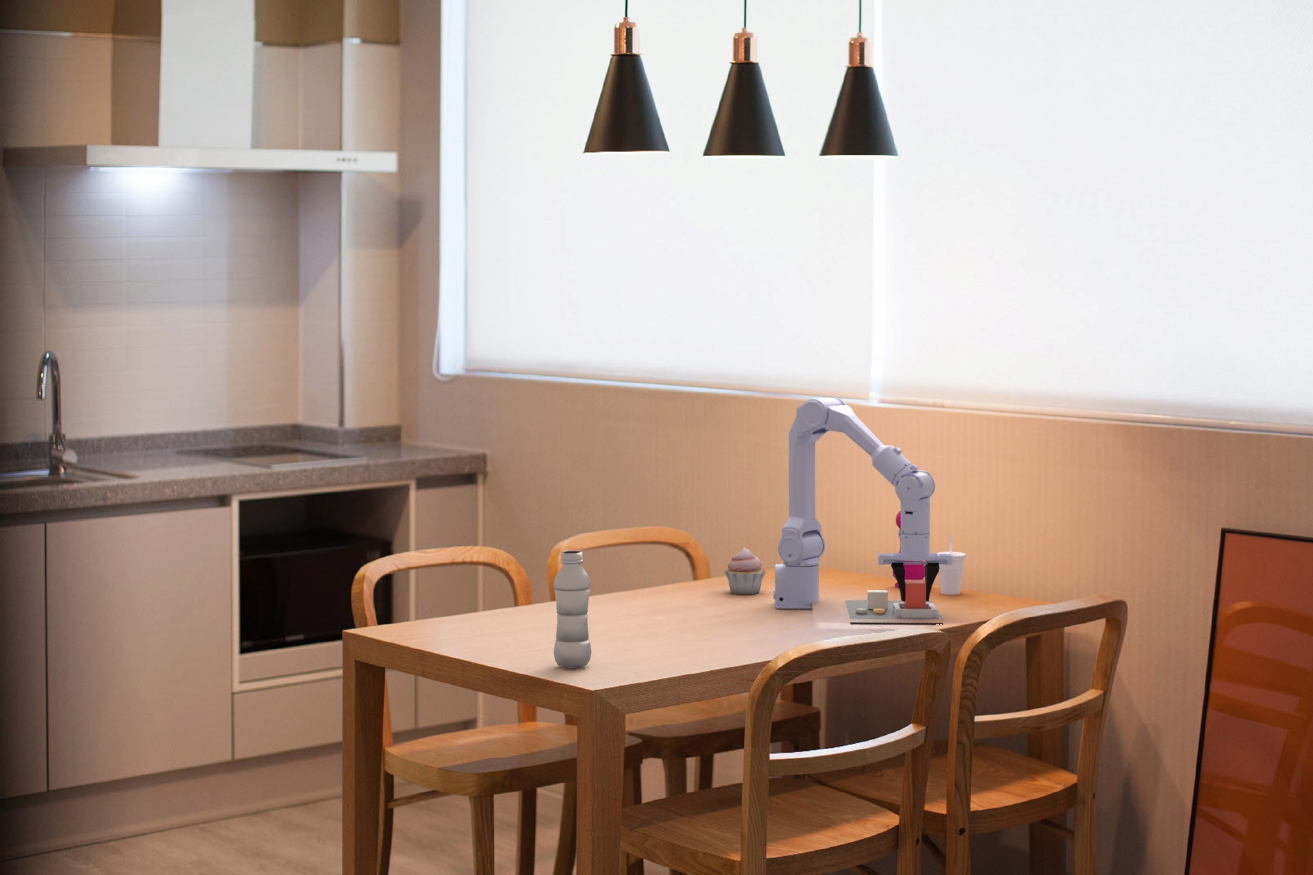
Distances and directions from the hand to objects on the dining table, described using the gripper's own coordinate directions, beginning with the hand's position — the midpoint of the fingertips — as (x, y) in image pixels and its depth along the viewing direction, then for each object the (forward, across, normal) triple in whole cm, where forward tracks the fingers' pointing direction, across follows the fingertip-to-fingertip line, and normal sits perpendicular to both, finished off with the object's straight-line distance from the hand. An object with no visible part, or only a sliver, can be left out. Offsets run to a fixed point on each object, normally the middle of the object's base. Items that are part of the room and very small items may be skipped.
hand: (914, 600), depth 306 cm
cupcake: (+4, -34, +30) cm, 46 cm away
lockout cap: (+1, 0, 0) cm, 1 cm away
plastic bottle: (+4, -63, -45) cm, 78 cm away
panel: (+4, -4, +4) cm, 7 cm away
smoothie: (+4, +10, +24) cm, 26 cm away
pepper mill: (+4, +2, +32) cm, 32 cm away
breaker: (+2, -7, +5) cm, 9 cm away
